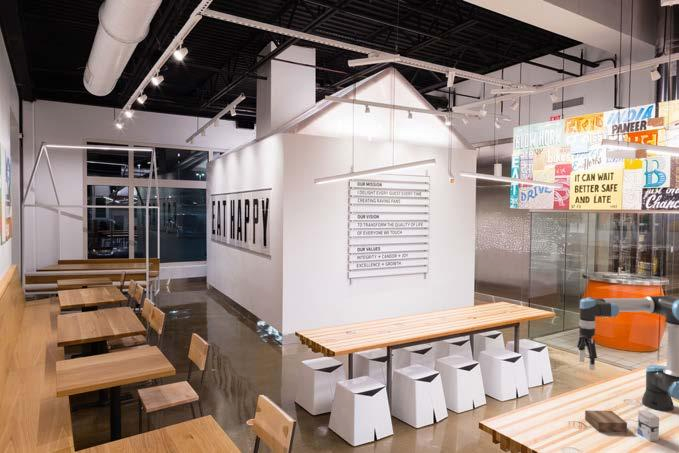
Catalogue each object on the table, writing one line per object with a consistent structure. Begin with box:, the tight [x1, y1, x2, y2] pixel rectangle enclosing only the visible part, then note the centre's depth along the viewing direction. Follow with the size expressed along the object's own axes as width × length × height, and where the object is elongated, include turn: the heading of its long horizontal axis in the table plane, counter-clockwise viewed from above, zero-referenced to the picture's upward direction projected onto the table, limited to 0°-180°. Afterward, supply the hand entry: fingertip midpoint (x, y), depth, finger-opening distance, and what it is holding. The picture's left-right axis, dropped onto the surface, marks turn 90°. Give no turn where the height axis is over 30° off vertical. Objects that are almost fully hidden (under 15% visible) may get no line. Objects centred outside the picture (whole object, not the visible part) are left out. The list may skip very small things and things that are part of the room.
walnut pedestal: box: [584, 410, 628, 433], centre depth 241 cm, size 14×14×5 cm
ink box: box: [637, 409, 660, 442], centre depth 230 cm, size 8×5×12 cm, turn 5°
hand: (586, 365), depth 253 cm, fingers open, 13 cm apart
